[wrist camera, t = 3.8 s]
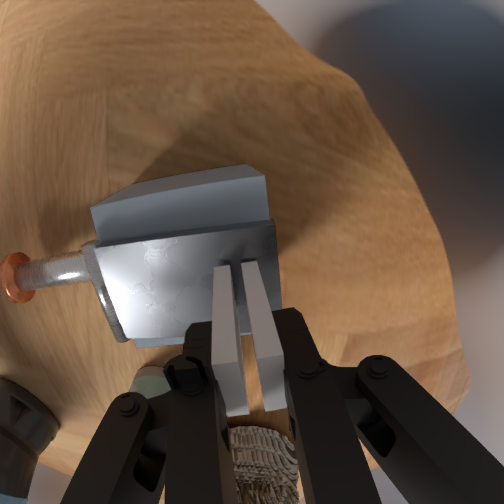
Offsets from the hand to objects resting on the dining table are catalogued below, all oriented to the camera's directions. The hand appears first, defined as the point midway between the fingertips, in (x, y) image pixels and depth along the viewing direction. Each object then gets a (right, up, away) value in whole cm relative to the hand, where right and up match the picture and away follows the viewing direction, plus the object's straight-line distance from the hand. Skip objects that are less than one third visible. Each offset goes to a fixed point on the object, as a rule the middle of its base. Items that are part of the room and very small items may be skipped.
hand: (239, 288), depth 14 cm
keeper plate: (-3, 0, +1) cm, 4 cm away
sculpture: (0, -30, +25) cm, 39 cm away
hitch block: (-4, +4, +11) cm, 12 cm away
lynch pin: (-14, +1, +8) cm, 16 cm away
